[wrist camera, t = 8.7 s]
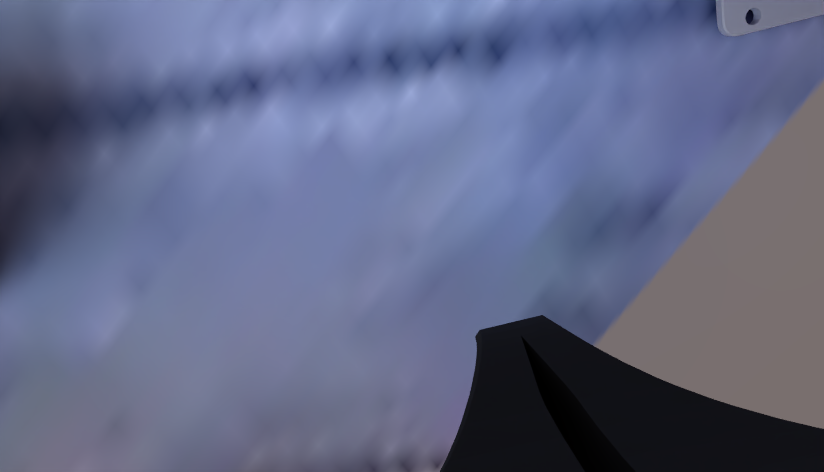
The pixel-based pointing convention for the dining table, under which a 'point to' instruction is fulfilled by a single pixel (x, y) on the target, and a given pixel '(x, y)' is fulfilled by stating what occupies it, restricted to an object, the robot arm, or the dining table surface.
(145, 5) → the dining table surface
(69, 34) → the dining table surface
